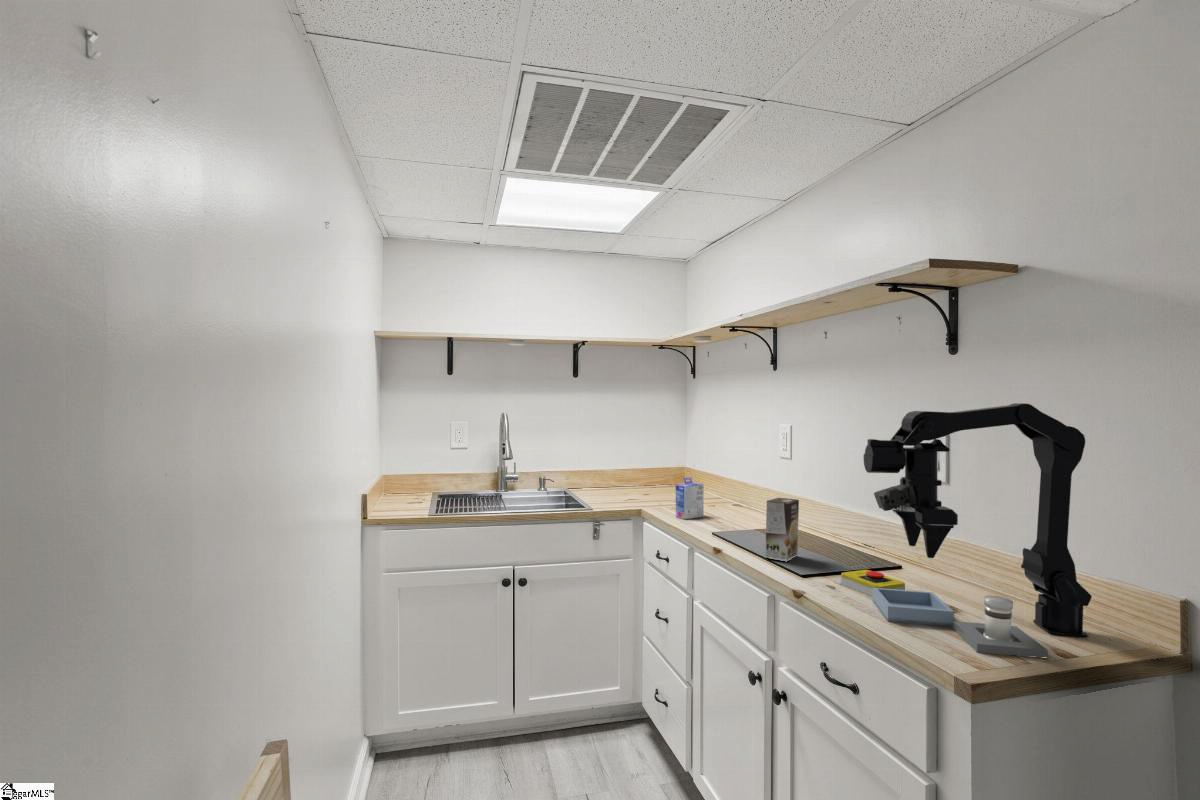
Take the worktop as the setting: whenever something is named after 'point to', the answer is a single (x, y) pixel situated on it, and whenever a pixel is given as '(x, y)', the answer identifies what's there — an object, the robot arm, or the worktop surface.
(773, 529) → the coffee box
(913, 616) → the parts tray
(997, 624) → the frosted globe bulb
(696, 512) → the ink cartridge box
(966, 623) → the grey square frame
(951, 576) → the worktop surface
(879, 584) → the emergency button
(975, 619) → the worktop surface
